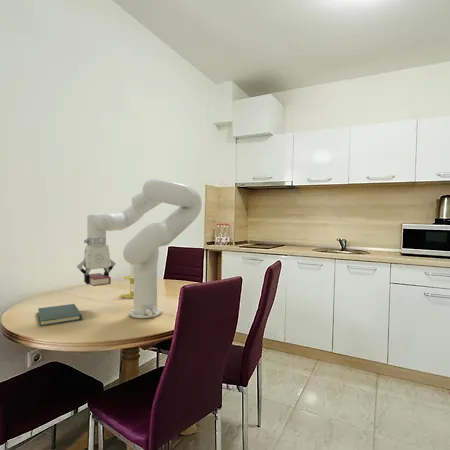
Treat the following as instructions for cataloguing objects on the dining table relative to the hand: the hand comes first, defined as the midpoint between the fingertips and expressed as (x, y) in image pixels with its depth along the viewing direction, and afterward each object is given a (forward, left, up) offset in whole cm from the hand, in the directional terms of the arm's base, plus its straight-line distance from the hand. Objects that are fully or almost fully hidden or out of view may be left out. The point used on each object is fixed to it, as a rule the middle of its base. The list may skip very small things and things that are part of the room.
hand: (96, 282), depth 140 cm
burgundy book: (0, 0, 0) cm, 0 cm away
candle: (+19, -21, -13) cm, 31 cm away
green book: (0, +15, -12) cm, 19 cm away
